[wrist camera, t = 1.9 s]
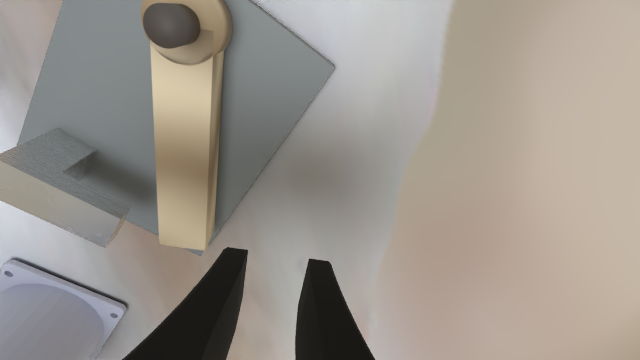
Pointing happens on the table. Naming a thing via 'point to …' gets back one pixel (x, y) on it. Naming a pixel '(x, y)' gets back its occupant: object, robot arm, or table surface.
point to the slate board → (137, 99)
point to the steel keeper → (60, 186)
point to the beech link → (186, 113)
